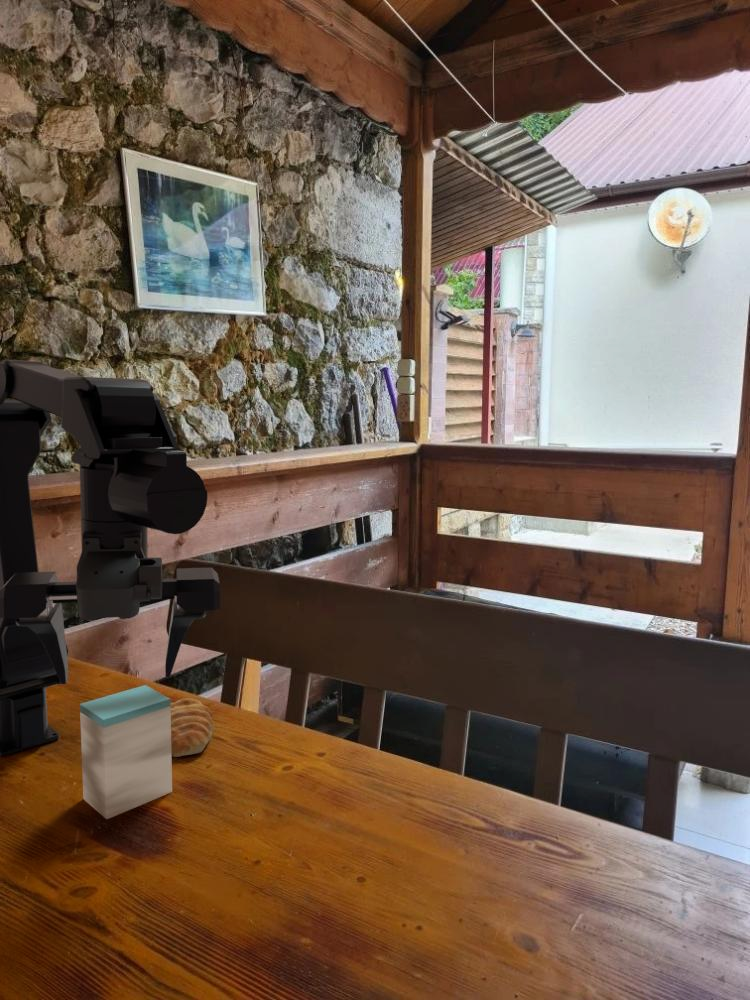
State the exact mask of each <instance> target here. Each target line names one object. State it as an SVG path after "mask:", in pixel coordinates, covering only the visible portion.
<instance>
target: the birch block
mask: <svg viewBox="0 0 750 1000" xmlns="http://www.w3.org/2000/svg"><path fill="white" fill-rule="evenodd" d="M170 703H171V698H170V697H168V696H166V695H164V694H162V693H160V692H159V691H157V690H155V689H154V688H152V687H150V686H148V685H146V684H144V685H140V686H137V687H134V688H130V689H127V690H123V691H120V692H117V693H113V694H109V695H106V696H101V697H99V698H95V699H93V700H88V701H86V702H81V703H80V704H79V715H80V716H79V717H80V740H81V741H80V743H81V744H80V747H81V749H80V750H81V769H82V770H81V772H82V798H83V800H84V802H86V803H87V804H89V806H91V808H93V809H94V810H95V811H96V812H98V814H100V815H101V816H102V817H103V818H104V819H106V820H109V819H111V818H113V817H116V816H119V815H121V814H123V813H125V812H127V811H131V810H133V809H135V808H138V807H140V806H142V805H144V804H147V803H149V802H151V801H154V800H157V799H159V798H162V797H163V796H166V795H168V794H170V793H173V771H172V770H173V769H172V768H173V766H172V764H173V763H172V761H173V759H172V757H173V756H172V755H171V706H170Z"/></svg>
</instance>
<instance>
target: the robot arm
mask: <svg viewBox="0 0 750 1000" xmlns="http://www.w3.org/2000/svg"><path fill="white" fill-rule="evenodd" d="M154 391H155V388H154V387H153V385H152V384H151V383H150V382H149V381H147V380H145V379H141V378H120V377H118V378H115V377H96V376H81V375H79V374H74V373H71V372H68V371H66V370H63V369H58V368H54V367H52V366H49V364H47V363H43V362H42V361H38V360H37V361H36V360H35V361H34V360H19V359H2V361H0V756H3V757H5V756H8V755H11V754H14V753H18V752H21V751H24V750H26V749H29V748H34V747H37V746H39V745H43V744H45V743H49V742H52V741H56V740H58V739H60V733H59V732H58V731H57V730H55V729H54V728H53V727H51V725H49V724H48V708H47V707H48V704H47V688H49V687H52V686H56V685H67V682H68V679H69V678H68V677H69V672H68V671H69V661H68V654H69V649H68V644H67V642H66V640H67V639H66V633H65V624H64V622H65V621H64V613H63V604H68V603H69V604H70V603H74V604H75V603H77V613H78V617H79V618H80V619H82V620H84V621H96V620H97V619H104V618H105V619H108V618H109V619H110V618H119V619H121V620H125V619H132V618H134V617H136V616H137V615H138V614H139V612H140V603H141V602H151V601H153V600H155V601H156V600H172V608H171V615H170V622H169V628H168V629H169V630H168V638H167V645H166V653H165V665H164V669H165V671H164V672H165V678H166V679H167V678H171V674H172V672H173V669H174V665H175V664H176V660H177V657H178V654H179V652H180V647H181V645H182V642H183V640H184V637H185V635H186V633H187V632H188V630H189V627H191V625H192V624H193V622H194V621H195V620H201V619H204V618H205V617H206V614H207V613H206V611H217V610H218V609H221V587H220V586H221V584H220V578H219V574H218V572H217V571H216V570H215V569H214V568H213V567H188V568H187V567H185V568H179V567H177V568H176V578H163V558H162V557H149V555H148V554H149V552H148V550H149V547H148V543H149V542H148V541H149V540H148V536H149V535H148V529H151V530H155V531H158V532H162V533H166V534H170V535H180V534H184V533H186V532H189V531H190V530H192V529H193V528H194V527H195V526H196V525H197V524H199V522H201V519H202V518H203V516H204V515H205V514H204V513H205V511H206V508H207V503H208V490H207V489H206V487H205V483H204V481H203V479H202V477H201V475H200V474H199V473H198V472H197V471H196V470H195V469H193V468H192V467H190V466H188V465H187V452H186V451H185V450H180V447H179V445H178V443H177V435H176V433H175V431H174V430H173V428H172V426H171V424H170V423H169V421H168V419H167V416H166V414H165V411H164V409H163V406H162V403H161V402H160V399H159V397H158V396H157V394H156V393H154ZM51 414H52V415H55V416H56V417H59V418H60V419H61V422H60V423H61V424H60V425H61V426H60V427H61V428H62V429H63V431H65V432H66V433H67V434H68V435H70V436H71V437H73V438H74V439H75V442H77V444H78V446H79V448H78V449H76V450H75V451H73V453H72V454H71V457H70V459H71V463H73V464H76V465H79V482H80V483H79V486H80V487H79V491H80V492H79V493H80V529H81V530H80V532H81V533H80V535H81V540H80V541H81V554H80V556H79V559H78V562H77V565H76V581H58V576H57V572H56V571H39V562H38V555H37V547H36V546H37V545H36V537H35V526H34V519H33V509H32V508H33V507H32V499H31V491H30V479H29V476H30V473H31V471H32V470H33V468H34V465H35V464H36V462H37V460H38V458H39V456H40V455H41V451H42V448H41V446H42V444H41V439H42V435H43V434H44V432H46V429H47V428H48V427H49V424H50V423H51V421H52V416H51Z"/></svg>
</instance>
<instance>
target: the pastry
mask: <svg viewBox="0 0 750 1000" xmlns="http://www.w3.org/2000/svg"><path fill="white" fill-rule="evenodd" d="M170 706H171V755H172V757H174V758H178V757H179V758H180V757H182V756H188V755H190V756H191V755H195V754H200V753H202V752H203V751H204V749H205V747H206V746H207V744H208V743H209V742H211V739H212V738H213V737H212V736H213V733H214V731H215V724H214V721H213V716H214V715H213V714H214V713H213V712H212V710H211V709H210V708H209V707H208V706H207V705H204V704H203V703H202V702H201V701H200V700H198V699H194V698H191V697H189V698H181V699H178V700H177V701H175V702H170Z"/></svg>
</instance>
